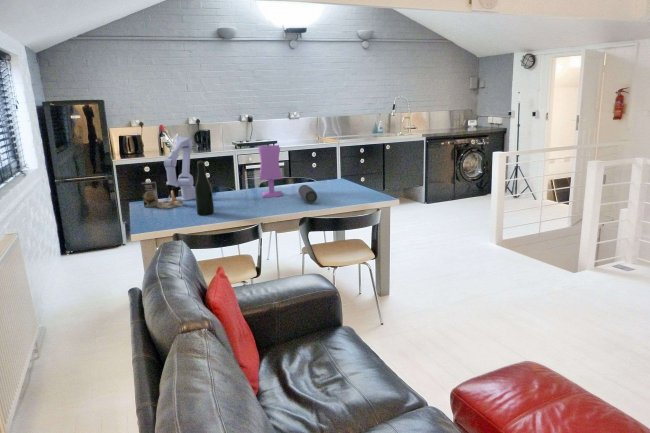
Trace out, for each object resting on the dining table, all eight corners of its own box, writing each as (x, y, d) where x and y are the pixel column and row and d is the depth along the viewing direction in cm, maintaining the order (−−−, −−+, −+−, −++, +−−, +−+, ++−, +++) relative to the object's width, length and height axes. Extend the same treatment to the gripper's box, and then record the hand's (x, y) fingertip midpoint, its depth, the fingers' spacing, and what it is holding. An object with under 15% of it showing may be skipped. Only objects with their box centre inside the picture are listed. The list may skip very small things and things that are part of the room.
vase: (283, 196, 335) (280, 147, 326) (261, 198, 333) (257, 148, 324) (281, 192, 350) (279, 145, 341) (260, 193, 348) (257, 146, 339)
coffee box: (144, 207, 317) (140, 183, 312) (144, 205, 323) (141, 182, 318) (158, 206, 319) (155, 182, 315) (158, 204, 325) (155, 181, 321)
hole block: (176, 203, 326) (176, 198, 325) (183, 205, 319) (182, 200, 318) (157, 206, 317) (156, 202, 317) (163, 209, 310) (162, 204, 309)
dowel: (176, 204, 322) (174, 190, 320) (177, 205, 320) (176, 190, 318) (171, 205, 320) (170, 190, 318) (173, 205, 318) (172, 191, 316)
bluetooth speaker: (297, 198, 328) (297, 184, 325) (310, 197, 330) (310, 183, 327) (304, 205, 306) (303, 190, 304) (318, 204, 308) (317, 189, 306)
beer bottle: (197, 216, 288) (191, 162, 279) (197, 212, 297) (191, 160, 289) (214, 214, 290) (209, 161, 282) (214, 211, 300) (209, 159, 291)
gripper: (161, 176, 318) (163, 195, 322) (170, 178, 308) (173, 198, 311) (171, 174, 323) (173, 193, 326) (180, 176, 312) (182, 196, 316)
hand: (174, 196), depth 319 cm, fingers open, 7 cm apart
